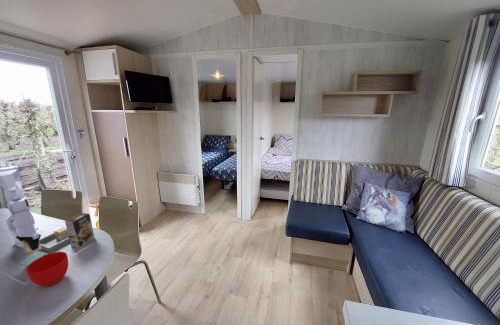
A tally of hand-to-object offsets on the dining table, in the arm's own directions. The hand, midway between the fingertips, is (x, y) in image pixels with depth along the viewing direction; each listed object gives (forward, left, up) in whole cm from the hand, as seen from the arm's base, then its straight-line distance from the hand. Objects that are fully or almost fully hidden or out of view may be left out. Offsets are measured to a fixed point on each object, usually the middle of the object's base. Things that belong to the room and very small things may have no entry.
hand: (32, 248), depth 105 cm
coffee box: (+8, +18, -7) cm, 20 cm away
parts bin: (-6, +13, -7) cm, 15 cm away
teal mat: (0, 0, -7) cm, 7 cm away
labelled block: (0, 0, -1) cm, 1 cm away
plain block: (-6, +16, -6) cm, 18 cm away
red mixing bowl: (+22, -4, -7) cm, 24 cm away
